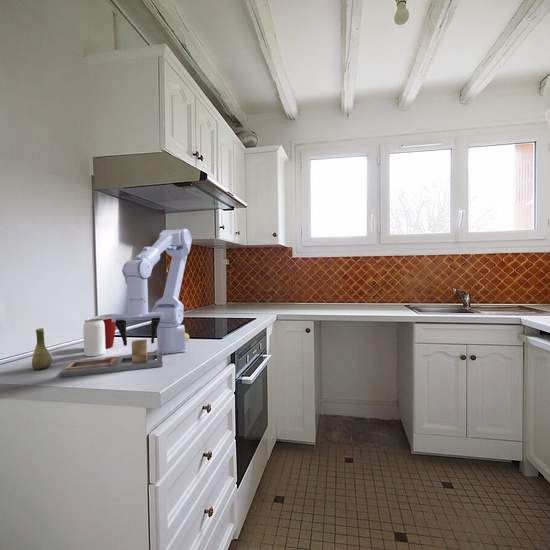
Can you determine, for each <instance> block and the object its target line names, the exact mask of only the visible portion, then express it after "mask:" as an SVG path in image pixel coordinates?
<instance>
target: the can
mask: <svg viewBox="0 0 550 550" xmlns="http://www.w3.org/2000/svg"><path fill="white" fill-rule="evenodd" d="M82 328H83V332H82V333H83V353H84V356H85V357H86V356H87V357H88V358H92V357H91V356H94V357H99V355H100V356H102V355H105V353H106V352H107V351H106V349H107V348H106V349H105V324H104V322H103V319H89V320H87V319H85V320H84V323H83V325H82Z"/></svg>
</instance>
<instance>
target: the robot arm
mask: <svg viewBox="0 0 550 550" xmlns="http://www.w3.org/2000/svg"><path fill="white" fill-rule="evenodd" d="M158 236H159V238H158V239H157V240H156V241H155V243H153V244H152V246H144V247H143V248H142V251H141V252H140V253H138V254H137V255H135V257H134V258H133V259H129V260H127V261H126V262H125V263H124V264H123V266H122V268H121V273H122V276H123V277H124V282H125V284H126V289H127V290H126V293H127V294H126V295H127V296H126V297H127V313H122V314H118V315H112V322H116V328H117V330H118V332H119V334H120V336H121V339H122V342H123V347H126V346H127V345H128V340H127V339H128V338H127V322H130V321H143V320H144V321H146V320H150V325H151V327H150V328H151V337H150V338H151V339H150V340H151V341H150V344H155V336H156V346H157V348H156V352H155V353H159V352H162V355H165V354H177V353H186V346H187V341H185V333H186V332H185V331H186V329H185V325H184V324H182V322H183V320H184V317H185V316H184V307H185V305H184V304H183V303H182V301H180V300H179V298H180V292H181V286H182V284H183V283H182V282H183V278H184V272H185V268H186V263H187V259H188V255H189V254H190V251H191V247H192V241H193V240H192V239H193V238H192V235H191V232H190V231H189V229H187V228H183V229H181V228H180V229H167V230H166V229H162V231H161V232H160V233H159V235H158ZM164 251H165V252H166V254H167V255H168V256H170V257H171V260H170V266H169V268H168V274H167V278H166V282H165V286H164V291H163V295H162V297H161V298H159V299H158V300H157V301H155V303H154V306H153V309H152V310H151V312H149V293H148V292H149V290H148V278H150V277H151V275H152V270H153V268H154V266H155V265H156V264H157V263H158V262H159V261H160V259H161V254H162V253H163V252H164Z"/></svg>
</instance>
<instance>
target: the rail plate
mask: <svg viewBox="0 0 550 550" xmlns="http://www.w3.org/2000/svg"><path fill="white" fill-rule="evenodd" d="M163 357H164V356H163V354H162V352H159V353H156V352H150V353H147V361H138V362H132V354H131V355H120V356H110V357H100V358H90V359H89V358H88V359H80V360H79V359H78V360H72V361H70V362H69V363H68V365H66V366H65V367H64V368H63V369H62V370H61V371H60V373H59V374H60V379H61V378H62V379H63V378H70V377H71V378H72V377H80V376H90V375H98V374H107V373H116V372H117V371H118V372H126V371H133V370H134V371H135V369H136V370H142V369H144V368H145V369H152V368H151V367H154V368H161V367H160V366H162V367H163V361H162V358H163ZM155 359H157V360H155ZM145 369H144V370H145Z"/></svg>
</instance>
